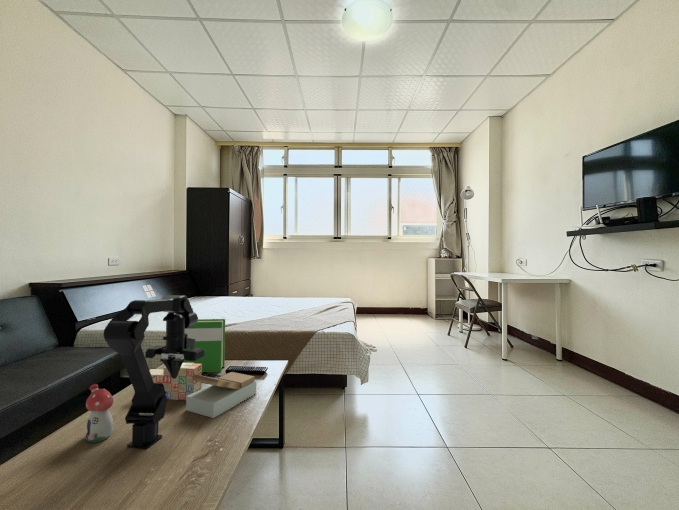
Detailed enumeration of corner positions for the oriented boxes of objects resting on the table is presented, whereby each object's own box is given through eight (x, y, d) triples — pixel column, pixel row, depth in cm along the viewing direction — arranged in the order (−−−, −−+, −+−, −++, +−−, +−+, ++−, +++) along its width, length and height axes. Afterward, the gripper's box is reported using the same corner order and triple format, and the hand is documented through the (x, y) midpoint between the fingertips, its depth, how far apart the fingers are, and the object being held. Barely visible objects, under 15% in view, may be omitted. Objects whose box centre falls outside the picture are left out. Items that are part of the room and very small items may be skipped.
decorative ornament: (83, 434, 98) (84, 384, 98) (109, 426, 102) (110, 379, 103) (87, 447, 91) (88, 393, 91) (115, 438, 96) (116, 387, 96)
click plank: (216, 385, 110) (218, 379, 111) (191, 380, 115) (193, 374, 116) (238, 389, 120) (240, 383, 121) (214, 383, 125) (216, 378, 126)
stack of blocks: (140, 398, 124) (140, 366, 124) (150, 391, 130) (151, 361, 130) (193, 400, 122) (193, 368, 122) (201, 394, 128) (202, 362, 128)
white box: (213, 418, 108) (213, 397, 108) (186, 410, 114) (186, 390, 114) (256, 393, 128) (256, 376, 128) (231, 388, 134) (231, 371, 134)
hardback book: (224, 367, 160) (225, 318, 161) (220, 372, 153) (221, 321, 153) (187, 368, 158) (188, 319, 158) (181, 373, 151) (182, 322, 151)
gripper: (213, 328, 116) (213, 372, 116) (167, 326, 119) (166, 368, 119) (194, 335, 105) (193, 383, 105) (144, 333, 108) (143, 379, 108)
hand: (174, 378), depth 109 cm, fingers closed
